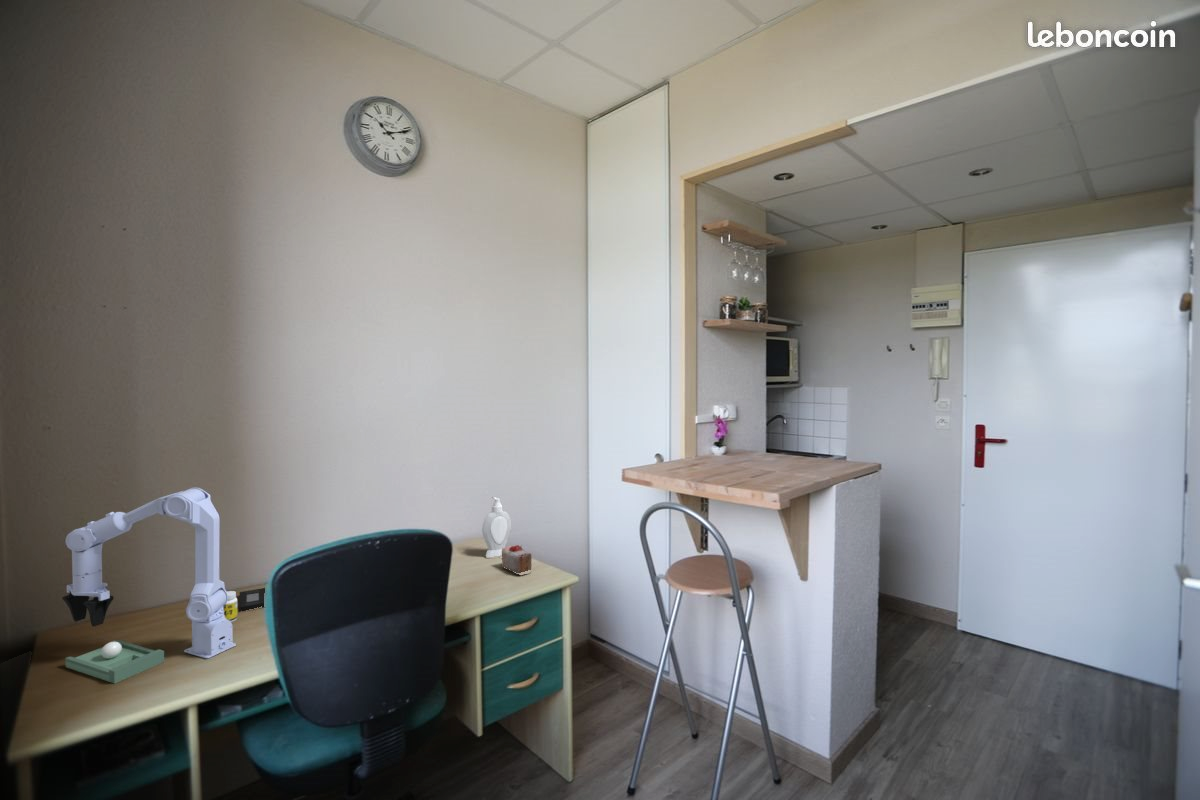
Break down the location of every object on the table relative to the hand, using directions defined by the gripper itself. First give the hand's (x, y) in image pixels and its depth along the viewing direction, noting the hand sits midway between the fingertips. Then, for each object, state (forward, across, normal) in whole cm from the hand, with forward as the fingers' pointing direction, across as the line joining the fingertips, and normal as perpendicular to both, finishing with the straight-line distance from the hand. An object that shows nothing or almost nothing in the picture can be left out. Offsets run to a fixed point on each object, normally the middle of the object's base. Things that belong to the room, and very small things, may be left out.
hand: (88, 622), depth 146 cm
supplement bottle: (+9, -13, -28) cm, 33 cm away
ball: (+6, -10, 0) cm, 11 cm away
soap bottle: (+9, -56, -113) cm, 126 cm away
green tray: (+9, -11, 0) cm, 14 cm away
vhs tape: (+10, -7, -41) cm, 43 cm away
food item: (+9, -72, -100) cm, 124 cm away
